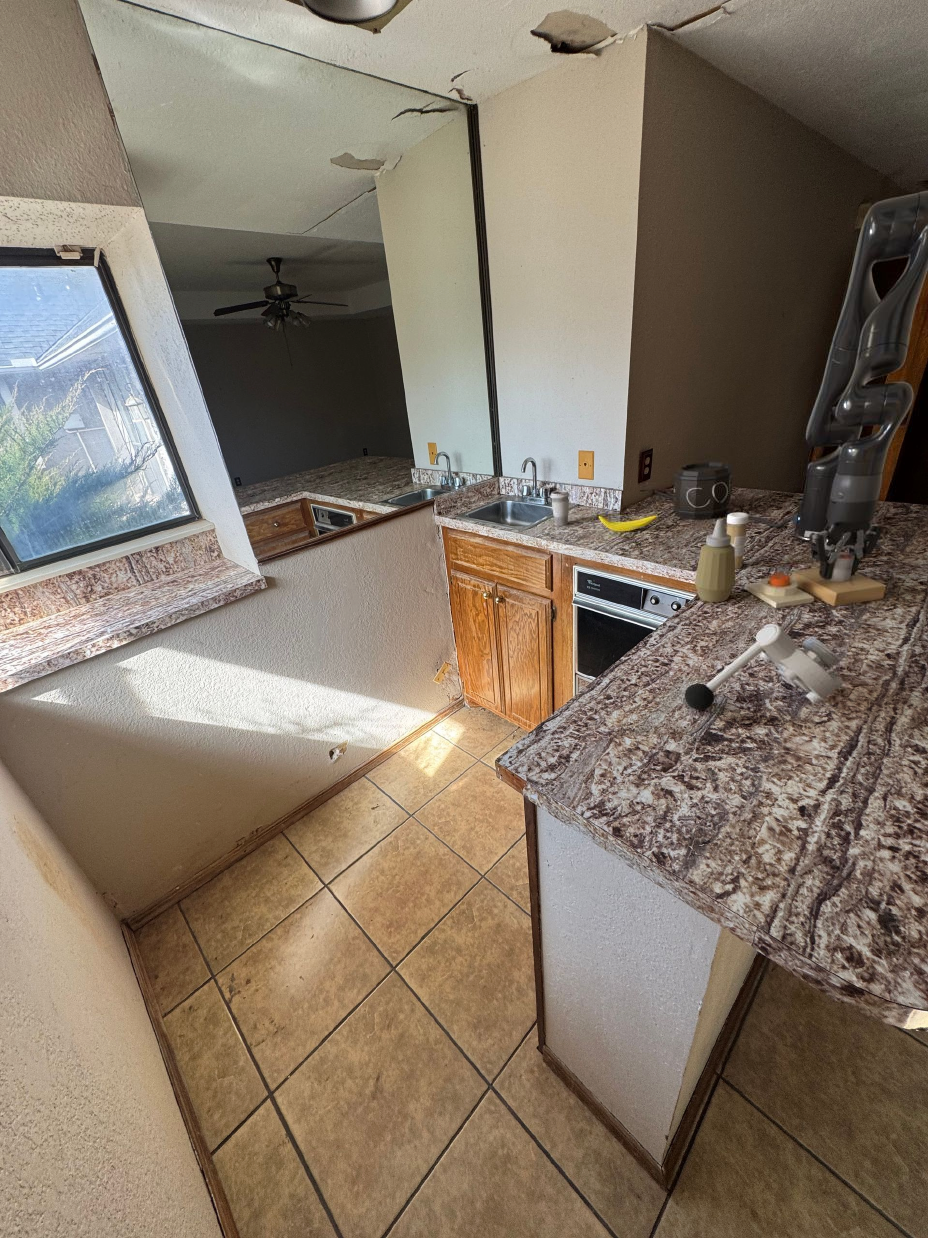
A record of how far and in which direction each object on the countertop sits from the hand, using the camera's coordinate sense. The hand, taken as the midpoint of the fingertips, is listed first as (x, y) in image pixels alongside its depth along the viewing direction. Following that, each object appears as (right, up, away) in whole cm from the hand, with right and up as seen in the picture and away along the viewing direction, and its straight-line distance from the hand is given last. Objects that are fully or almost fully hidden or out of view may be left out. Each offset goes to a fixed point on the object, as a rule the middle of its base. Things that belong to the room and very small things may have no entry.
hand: (837, 575), depth 101 cm
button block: (-10, -4, +3) cm, 12 cm away
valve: (-33, -22, -26) cm, 48 cm away
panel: (+1, -3, +2) cm, 4 cm away
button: (-11, -2, +2) cm, 11 cm away
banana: (-25, +20, +58) cm, 66 cm away
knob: (0, 0, 0) cm, 0 cm away
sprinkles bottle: (-11, +4, +21) cm, 24 cm away
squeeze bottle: (-23, -5, +7) cm, 24 cm away
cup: (-43, +26, +76) cm, 91 cm away
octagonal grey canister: (+3, +27, +64) cm, 69 cm away
